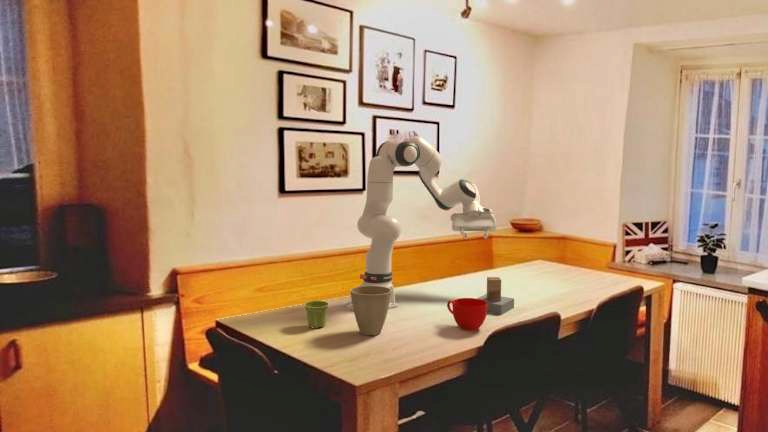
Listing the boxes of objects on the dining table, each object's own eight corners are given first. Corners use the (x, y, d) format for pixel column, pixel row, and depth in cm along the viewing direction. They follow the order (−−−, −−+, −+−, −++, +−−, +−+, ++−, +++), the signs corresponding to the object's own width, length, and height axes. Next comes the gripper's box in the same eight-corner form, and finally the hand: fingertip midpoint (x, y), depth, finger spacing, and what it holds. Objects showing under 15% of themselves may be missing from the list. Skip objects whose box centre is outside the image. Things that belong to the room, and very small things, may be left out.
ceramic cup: (457, 319, 225) (458, 294, 224) (493, 328, 213) (494, 302, 212) (436, 325, 216) (437, 300, 215) (472, 336, 204) (473, 309, 203)
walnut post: (500, 300, 237) (501, 279, 236) (488, 300, 237) (489, 279, 236) (498, 297, 242) (498, 277, 241) (486, 297, 242) (487, 277, 241)
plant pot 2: (396, 337, 202) (396, 293, 201) (355, 340, 198) (355, 296, 196) (384, 324, 217) (384, 284, 215) (346, 328, 212) (346, 286, 211)
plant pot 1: (318, 331, 208) (318, 308, 207) (299, 327, 213) (298, 304, 212) (334, 325, 216) (334, 303, 215) (314, 321, 221) (314, 299, 220)
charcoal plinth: (501, 314, 231) (501, 305, 230) (472, 309, 238) (472, 300, 238) (513, 307, 241) (514, 298, 241) (485, 302, 249) (486, 294, 248)
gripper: (450, 209, 263) (453, 233, 254) (495, 209, 263) (498, 233, 254) (449, 217, 268) (451, 241, 259) (493, 217, 268) (496, 241, 259)
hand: (475, 237), depth 257 cm, fingers open, 8 cm apart
